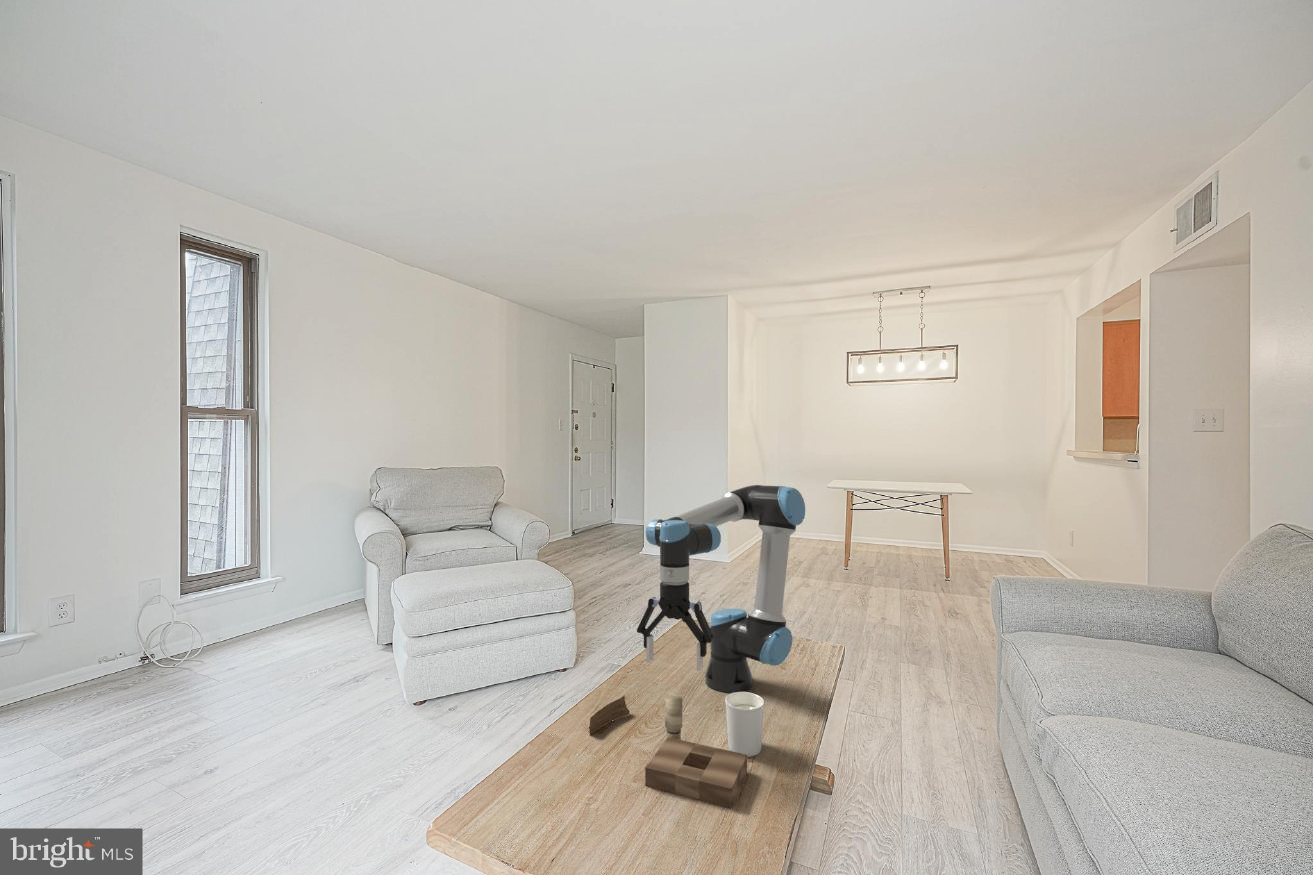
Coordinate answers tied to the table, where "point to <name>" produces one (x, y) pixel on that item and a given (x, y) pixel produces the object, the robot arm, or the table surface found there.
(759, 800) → the table surface
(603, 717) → the wood plank
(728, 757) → the wooden block with hole
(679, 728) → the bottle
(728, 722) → the candle holder
